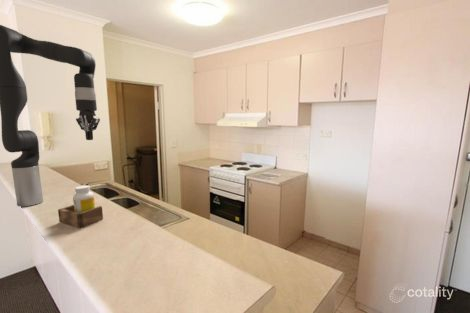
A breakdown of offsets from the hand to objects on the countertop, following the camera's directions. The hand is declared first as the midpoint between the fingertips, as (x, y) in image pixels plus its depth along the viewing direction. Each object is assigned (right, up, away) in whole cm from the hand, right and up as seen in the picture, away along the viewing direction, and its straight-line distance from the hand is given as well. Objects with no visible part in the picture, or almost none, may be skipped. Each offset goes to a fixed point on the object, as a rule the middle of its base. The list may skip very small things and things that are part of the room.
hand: (89, 139), depth 106 cm
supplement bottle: (+7, -32, -13) cm, 35 cm away
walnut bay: (+6, -31, -15) cm, 35 cm away
